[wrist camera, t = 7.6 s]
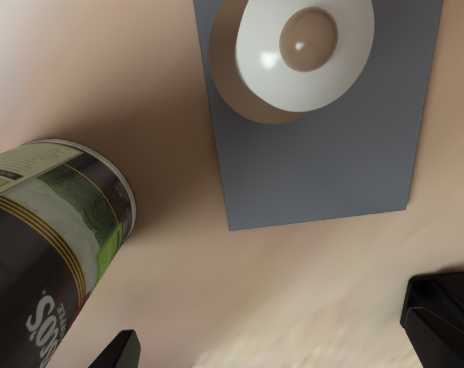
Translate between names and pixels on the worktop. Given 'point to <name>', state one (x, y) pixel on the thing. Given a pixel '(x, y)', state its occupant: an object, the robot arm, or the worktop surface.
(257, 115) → the base
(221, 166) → the board
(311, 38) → the cap
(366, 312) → the worktop surface
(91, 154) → the coffee can
